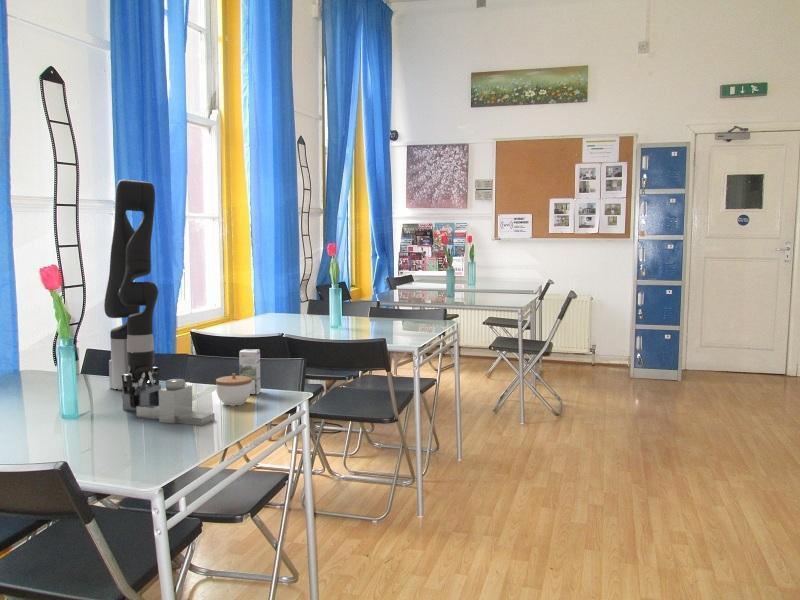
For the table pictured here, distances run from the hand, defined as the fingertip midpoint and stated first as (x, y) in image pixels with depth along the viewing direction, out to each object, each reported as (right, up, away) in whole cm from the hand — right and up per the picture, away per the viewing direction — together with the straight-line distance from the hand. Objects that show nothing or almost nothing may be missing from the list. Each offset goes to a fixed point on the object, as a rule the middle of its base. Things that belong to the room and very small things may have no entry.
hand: (142, 404), depth 201 cm
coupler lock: (0, -1, 0) cm, 1 cm away
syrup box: (+28, 0, +21) cm, 35 cm away
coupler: (+13, -2, -12) cm, 18 cm away
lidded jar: (+26, -1, +7) cm, 27 cm away
